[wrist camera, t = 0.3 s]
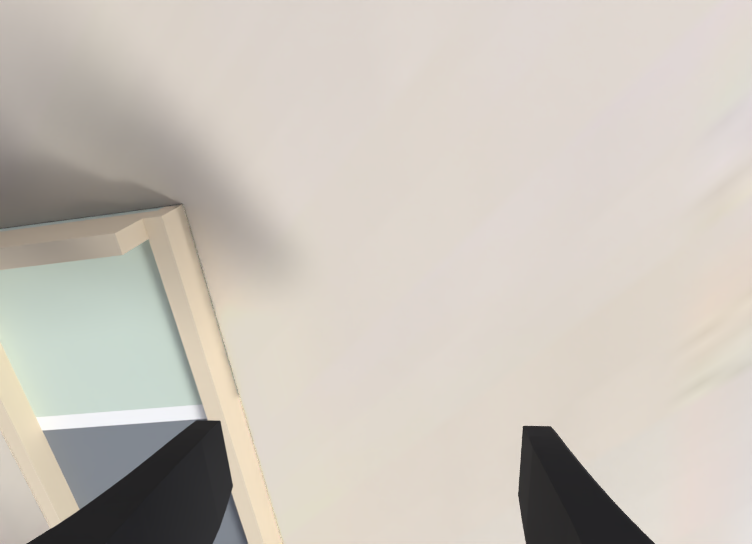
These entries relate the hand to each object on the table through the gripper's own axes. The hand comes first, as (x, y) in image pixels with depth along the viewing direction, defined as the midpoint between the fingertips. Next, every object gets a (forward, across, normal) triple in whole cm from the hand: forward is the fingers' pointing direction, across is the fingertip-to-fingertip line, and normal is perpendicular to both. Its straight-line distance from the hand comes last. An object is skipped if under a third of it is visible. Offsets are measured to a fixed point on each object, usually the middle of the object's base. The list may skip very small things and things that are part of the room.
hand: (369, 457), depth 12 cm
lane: (+10, +13, +9) cm, 18 cm away
